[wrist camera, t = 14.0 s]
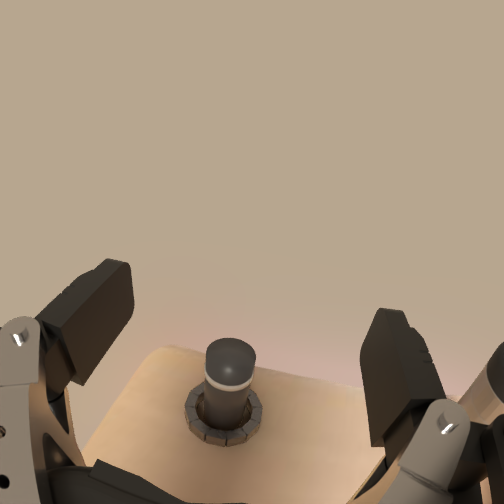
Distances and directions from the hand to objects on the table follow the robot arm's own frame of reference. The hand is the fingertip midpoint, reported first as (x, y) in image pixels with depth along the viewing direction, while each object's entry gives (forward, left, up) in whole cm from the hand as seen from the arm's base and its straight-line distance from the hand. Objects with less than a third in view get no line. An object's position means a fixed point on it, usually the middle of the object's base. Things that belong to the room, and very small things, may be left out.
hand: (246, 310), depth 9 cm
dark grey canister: (+2, -14, -28) cm, 32 cm away
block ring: (+2, -14, -28) cm, 32 cm away
